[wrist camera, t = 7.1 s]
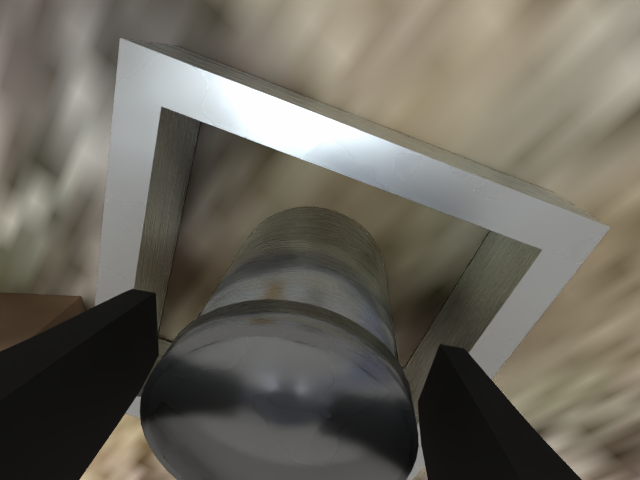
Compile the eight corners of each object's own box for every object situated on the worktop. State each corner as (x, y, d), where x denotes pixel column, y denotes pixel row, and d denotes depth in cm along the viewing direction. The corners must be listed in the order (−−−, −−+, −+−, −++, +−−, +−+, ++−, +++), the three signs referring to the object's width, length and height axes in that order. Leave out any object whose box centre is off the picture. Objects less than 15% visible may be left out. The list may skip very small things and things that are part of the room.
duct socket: (554, 192, 10) (610, 227, 8) (384, 443, 15) (389, 508, 13) (175, 45, 9) (119, 37, 7) (126, 358, 14) (84, 412, 12)
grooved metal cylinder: (367, 349, 13) (375, 543, 8) (229, 319, 13) (141, 493, 8) (409, 222, 11) (462, 369, 6) (244, 185, 11) (136, 297, 6)
